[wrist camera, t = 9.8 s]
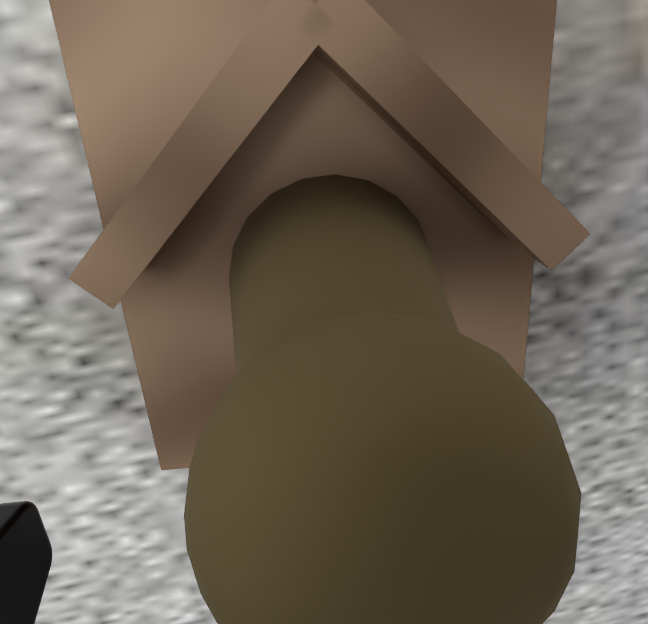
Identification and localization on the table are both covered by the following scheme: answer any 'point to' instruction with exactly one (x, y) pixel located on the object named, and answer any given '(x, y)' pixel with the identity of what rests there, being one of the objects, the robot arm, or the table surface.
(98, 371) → the table surface
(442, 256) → the dog kennel
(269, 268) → the cork
